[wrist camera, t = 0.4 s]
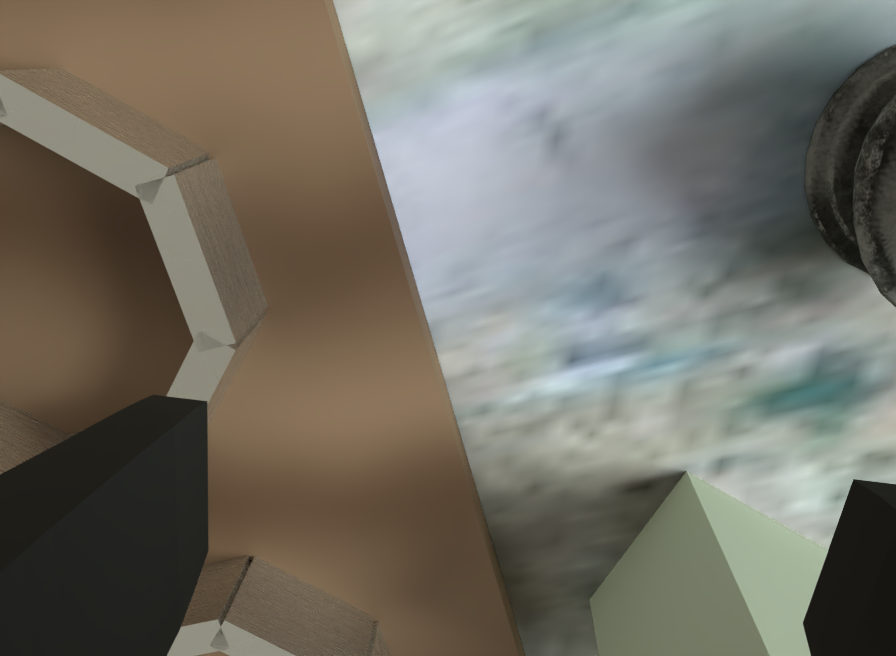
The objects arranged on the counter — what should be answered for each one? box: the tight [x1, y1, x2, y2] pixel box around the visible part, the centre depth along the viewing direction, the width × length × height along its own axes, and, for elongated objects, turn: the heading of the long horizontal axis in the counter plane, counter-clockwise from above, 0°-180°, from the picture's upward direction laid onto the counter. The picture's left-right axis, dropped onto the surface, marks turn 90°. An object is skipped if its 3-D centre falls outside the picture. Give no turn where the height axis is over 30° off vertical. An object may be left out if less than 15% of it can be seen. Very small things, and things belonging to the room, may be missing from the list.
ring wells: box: [0, 68, 391, 656], centre depth 20 cm, size 21×9×2 cm, turn 15°
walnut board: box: [0, 0, 525, 656], centre depth 22 cm, size 24×18×1 cm
